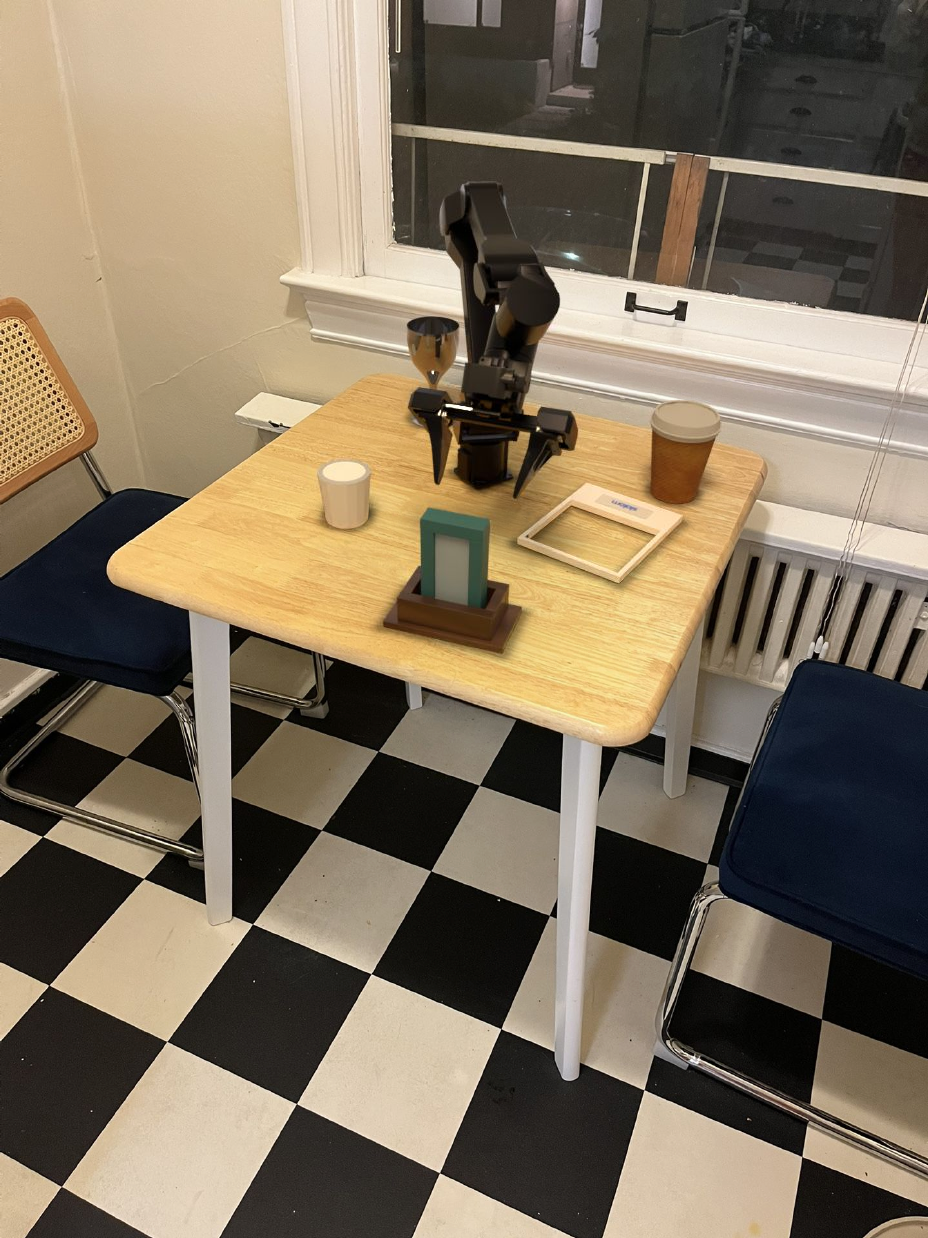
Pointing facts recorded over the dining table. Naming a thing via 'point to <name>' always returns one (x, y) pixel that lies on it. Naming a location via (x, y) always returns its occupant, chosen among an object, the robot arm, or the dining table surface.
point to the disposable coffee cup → (681, 448)
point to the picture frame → (454, 557)
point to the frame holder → (455, 616)
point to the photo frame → (614, 509)
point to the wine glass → (432, 347)
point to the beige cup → (345, 492)
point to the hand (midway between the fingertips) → (475, 491)
